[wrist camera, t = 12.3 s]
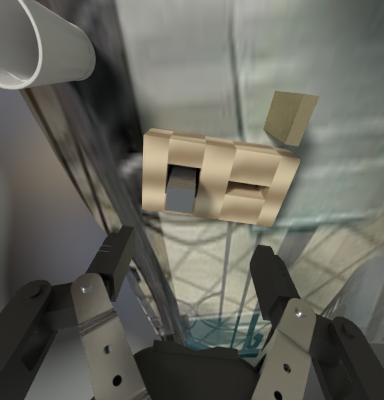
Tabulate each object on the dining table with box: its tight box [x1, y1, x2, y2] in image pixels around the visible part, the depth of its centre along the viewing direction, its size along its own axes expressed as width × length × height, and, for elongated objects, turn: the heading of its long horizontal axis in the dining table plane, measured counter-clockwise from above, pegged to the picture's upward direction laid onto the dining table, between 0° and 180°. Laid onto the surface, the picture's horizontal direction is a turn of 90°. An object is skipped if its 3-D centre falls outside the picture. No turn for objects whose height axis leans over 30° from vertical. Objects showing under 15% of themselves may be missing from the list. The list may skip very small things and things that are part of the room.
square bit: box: [165, 164, 196, 214], centre depth 31 cm, size 4×4×10 cm
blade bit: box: [264, 91, 319, 146], centre depth 26 cm, size 5×2×9 cm, turn 172°
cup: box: [0, 0, 96, 90], centre depth 22 cm, size 8×8×12 cm
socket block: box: [142, 128, 301, 227], centre depth 33 cm, size 12×22×5 cm, turn 82°
